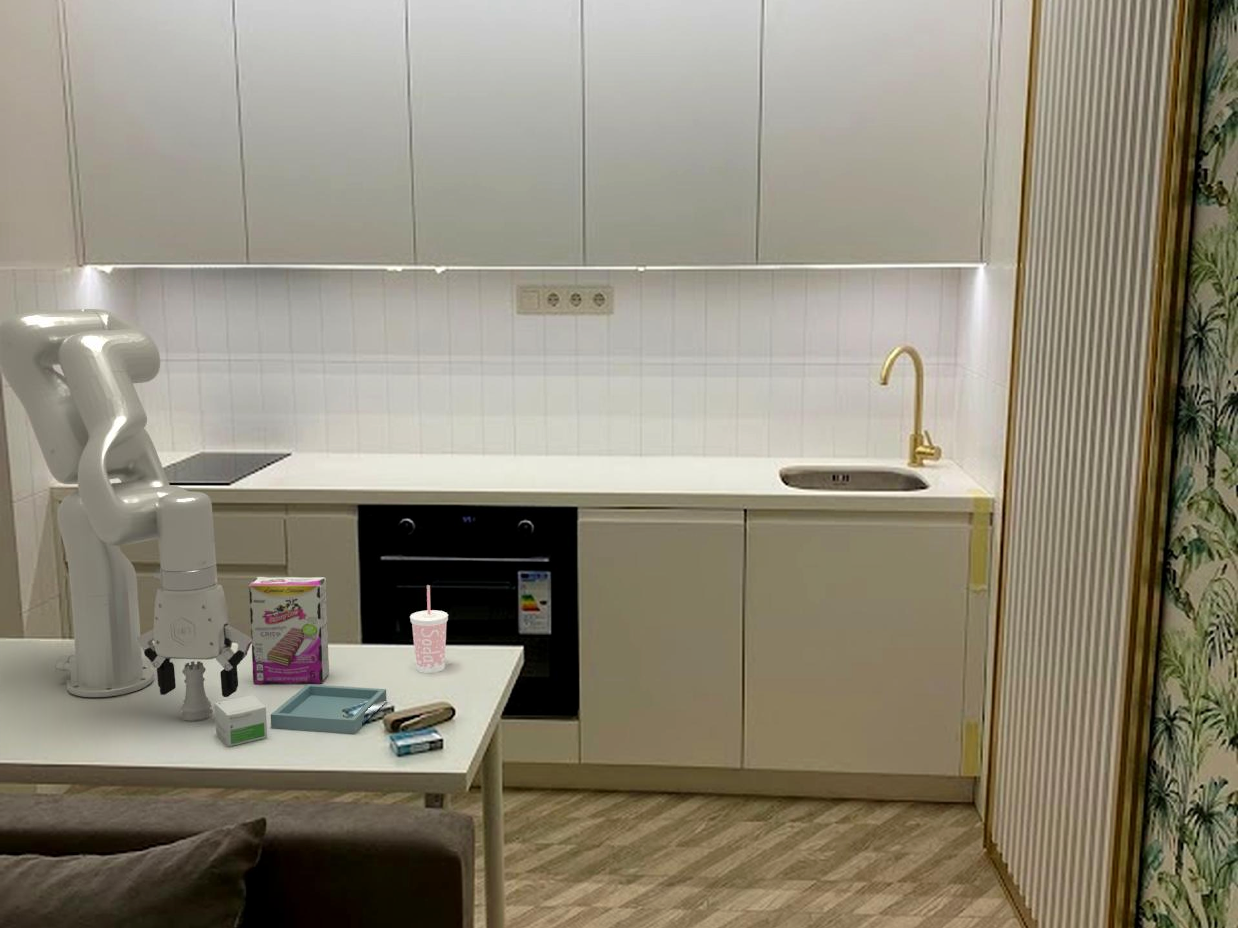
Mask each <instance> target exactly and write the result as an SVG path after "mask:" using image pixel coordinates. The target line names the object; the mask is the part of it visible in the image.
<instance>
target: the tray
mask: <svg viewBox="0 0 1238 928" xmlns="http://www.w3.org/2000/svg"><path fill="white" fill-rule="evenodd" d="M365 701H368V702H367V703H366V704H365V705H364V706H363V707H362V708H361V709H360V710H359V711H358V712H357V713H356V714H355V715H354V716H353V717H352V718H345V717H343V714H342V710H343V709H344V708H347V707H353V706H354V705H358V704H360V703H364V702H365ZM376 701H387V689H386V688H373V687H358V686H356V687H355V686H341V685H325V684H314V683H306V685H304V687H302V688H301V689H300V690H298V691H297V692H296V693H295V694H294V695H293V696H291V697H290V698H289V699H288V700H286V701H285V702H284V703H283V704H281V705H280V706H279V707H278V708H277V709H275V710H274V711H273V712H272V713H271V714H270V728H271V729H281V730H282V729H283V730H295V731H296V730H297V731H310V732H322V733H323V732H324V733H325V732H326V733H336V734H337V733H338V734H339V733H340V734H351V735H355V734H356V733H357V732H358V731H360V729H361V728H362V727H363V726H362V721H363V718H364V714H365V712H366V711H367V710H368V708H370V707H371V706H372V705H373V704H374V703H375V702H376Z"/></svg>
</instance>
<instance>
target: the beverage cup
mask: <svg viewBox="0 0 1238 928" xmlns="http://www.w3.org/2000/svg"><path fill="white" fill-rule="evenodd" d="M426 597H427V598H426V602H427V607H426V608H427V609H426V610H421V611H416V612H413V613H411V614H410V616H409V619H410V623H411V624H412V625H411V627H412V637H413V639H412V640H413V646H414V647H413V648H414V658H415V659H414V661H415V670H416V671H417V672H418V673H423V674H434V673H435V674H436V673H438V672H441V671H443V670H445V665H446V643H447V642H446V641H447V622H448V620H449V614H448V612H445V611H443V610H436V609H435V610H434V609H432V610H431V585H429V584H427V585H426Z"/></svg>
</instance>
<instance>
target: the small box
mask: <svg viewBox="0 0 1238 928" xmlns="http://www.w3.org/2000/svg"><path fill="white" fill-rule="evenodd" d="M213 706H214V719H215V733H216V734H215V735H216V736H217V737H218V738H219V739H220V740H221V741H222V742H223V743H224V744H225V745H226V746H227V747H228V748H230V747H234V746H238V745H242V744H246V743H250V742H254V741H258V740H264V739H267V738H268V725H267V724H268V723H267V721H268V720H267V708H266V707H267V706H266V705H265V704H264V703H262V701H260V700H259V699H257V697H255V695H253V694H250V695H246V696H241V697H237V698H232V699H228V700H224V701H219V702H215V703H214V705H213Z"/></svg>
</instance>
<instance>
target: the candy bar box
mask: <svg viewBox="0 0 1238 928" xmlns="http://www.w3.org/2000/svg"><path fill="white" fill-rule="evenodd" d="M248 588H249V589H248V590H249V591H248V592H249V609H250V610H249V613H250V614H249V615H250V629H251V630H250V631H251V632H250V633H251V634H250V635H251V636H250V637H251V638H252V643H251V662H252V681H253V684H256V685H257V684H263V685H264V684H265V685H266V684H268V685H269V684H272V685H273V684H286V685H287V684H323V683H324V682H325V680H326V678H327V677H328V676H329V673H330V665H329V664H330V663H329V662H330V661H329V639H328V638H329V637H328V636H329V635H328V631H329V630H328V629H329V628H328V609H327V608H328V607H327V606H328V605H327V604H328V603H327V601H328V599H327V594H328V593H327V579H326V577H324V576H323V577H320V576H316V577H315V576H308V577H307V576H305V577H303V576H302V577H301V576H300V577H299V576H296V577H295V576H286V577H285V576H257V577H256V578H255V579H254V580H253V581H251V582H250V584H249V585H248Z"/></svg>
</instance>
